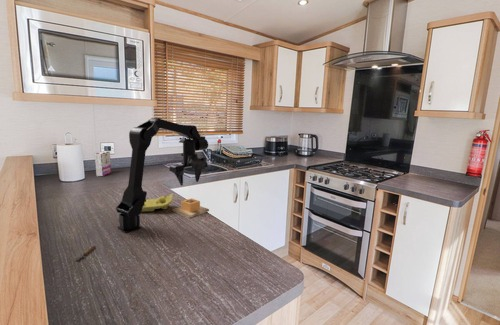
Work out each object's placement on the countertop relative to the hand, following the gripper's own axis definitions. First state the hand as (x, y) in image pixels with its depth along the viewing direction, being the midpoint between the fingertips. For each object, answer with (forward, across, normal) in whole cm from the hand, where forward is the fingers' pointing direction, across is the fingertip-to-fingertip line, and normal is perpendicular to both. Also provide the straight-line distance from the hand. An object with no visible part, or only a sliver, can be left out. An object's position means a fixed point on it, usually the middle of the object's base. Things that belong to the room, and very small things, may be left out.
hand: (189, 183), depth 129 cm
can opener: (+12, -51, -12) cm, 54 cm away
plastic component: (+12, -14, +11) cm, 22 cm away
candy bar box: (+12, -1, +96) cm, 96 cm away
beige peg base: (+12, -3, -4) cm, 13 cm away
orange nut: (+11, -3, -4) cm, 12 cm away
